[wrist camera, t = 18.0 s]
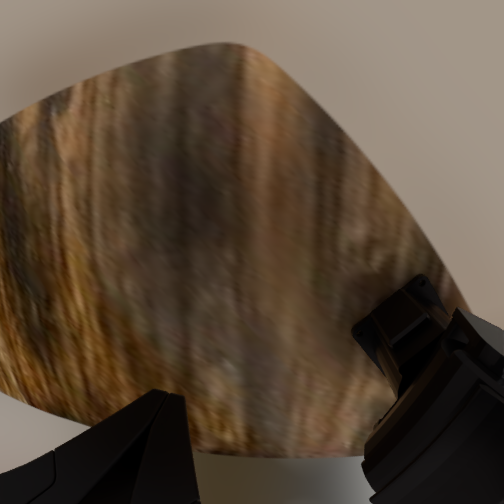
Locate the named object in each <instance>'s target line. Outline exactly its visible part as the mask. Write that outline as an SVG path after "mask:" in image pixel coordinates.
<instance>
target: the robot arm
mask: <svg viewBox="0 0 504 504" xmlns="http://www.w3.org/2000/svg"><path fill="white" fill-rule="evenodd" d="M421 280H423V283H422V284H420V285H419V283H420V281H421ZM452 316H453V318H452V319H451V318H450V317H449V315H448V313H447V312H446V310H445V308H444V306H443V304H442V302H441V301H440V299H439V297H438V295H437V293H436V292H435V290H434V288H433V286H432V285H431V283H430V281H429V280H428V278H427V277H426V276H425V275H423V274H419V275H418V276H416V277H415V278H414V279H413V280H412V281H410V282H409V283H408V284H407V285H406V286H405V287H403V288H402V289H399V290H398V291H397V292H395V293H394V294H393V295H392V296H391V297H389V298H388V299H387V300H386V301H384V302H383V303H382V304H381V305H379V306H378V307H377V308H376V309H374V310H373V311H372V313H371V314H370V315H369V316H368V317H366V318H365V319H364V320H362V321H361V322H360V323H358V324H357V325H356V326H354V327H353V329H352V335H353V337H354V339H355V340H356V341H357V342H358V344H359V345H360V346H361V347H362V349H363V350H364V351H365V352H366V353H367V355H368V356H369V357H370V358H371V359H372V361H373V362H374V363H375V364H376V365H377V367H378V368H379V369H380V370H381V372H382V373H383V374H384V375H385V376H386V378H387V380H388V382H389V384H390V386H391V388H392V390H393V392H394V394H395V396H396V399H397V401H396V402H395V403H394V404H393V406H392V407H391V408H390V409H389V411H388V412H387V413H386V414H385V415H384V417H383V418H382V419H379V420H378V421H377V423H376V424H375V425H374V429H373V432H372V433H371V434H370V435H369V437H368V439H367V441H366V443H365V449H364V459H365V460H364V461H363V462H362V463H361V466H362V469H363V472H364V475H365V477H366V479H367V481H368V483H369V484H370V486H371V487H372V489H373V490H374V491H375V492H376V493H375V494H374V495H373V496H371V497H370V499H369V500H370V502H371V503H372V504H504V330H502V329H500V328H499V327H497V326H495V325H493V324H491V323H489V322H487V321H485V320H483V319H481V318H479V317H477V316H475V315H473V314H471V313H469V312H467V311H465V310H463V309H461V308H459V307H457V308H456V309H455V311H454V313H453V315H452ZM358 331H362V332H361V333H360V334H356V333H357V332H358ZM0 504H201V502H200V495H199V490H198V484H197V478H196V473H195V466H194V460H193V453H192V446H191V439H190V432H189V424H188V416H187V408H186V399H185V396H183V395H179V394H175V393H170V394H169V393H168V392H166V391H162V390H158V389H152V390H150V391H149V392H147V393H146V394H144V395H142V396H141V397H139V398H138V399H136V400H135V401H133V402H132V403H130V404H128V405H127V406H125V407H124V408H122V409H121V410H119V411H117V412H116V413H114V414H112V415H111V416H109V417H108V418H106V419H104V420H103V421H101V422H99V423H98V424H96V425H95V426H93V427H91V428H90V429H88V430H86V431H84V432H83V433H81V434H80V435H78V436H76V437H74V438H73V439H71V440H69V441H67V442H66V443H64V444H62V445H60V446H59V447H57V448H55V450H54V451H53V450H51V451H50V452H48V453H46V454H44V455H42V456H41V457H39V458H37V459H35V460H33V461H31V462H29V463H27V464H24V465H22V466H20V467H17V468H15V469H12V470H10V471H7V472H4V473H1V474H0Z"/></svg>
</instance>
